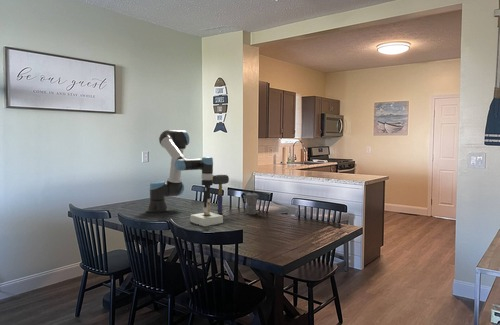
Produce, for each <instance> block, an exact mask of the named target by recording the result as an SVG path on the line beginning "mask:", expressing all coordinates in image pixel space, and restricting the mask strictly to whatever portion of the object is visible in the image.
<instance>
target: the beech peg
mask: <svg viewBox="0 0 500 325" xmlns="http://www.w3.org/2000/svg"><path fill="white" fill-rule="evenodd" d="M210 212H211V201H210V202H208V210H207V212H203V213H204V216H210Z"/></svg>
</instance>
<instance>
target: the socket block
mask: <svg viewBox="0 0 500 325" xmlns="http://www.w3.org/2000/svg"><path fill="white" fill-rule="evenodd" d="M189 219H190V223H193V224H195V225H198V224H199V225H198V226H202V227H208V226H214V225H218V224H223V223H224V215H221V214H220V213H218V214H217V213H213V212H211V211H210V216H204V212H201V213H200V212H199V213H195V214H190V218H189Z"/></svg>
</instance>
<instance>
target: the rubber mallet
mask: <svg viewBox="0 0 500 325" xmlns="http://www.w3.org/2000/svg"><path fill="white" fill-rule="evenodd" d="M212 180H213V185H218V195H217V211H216V212H217V213H218V214H222V213H223V185H226V184H228V183H229V182H230V178H229V175H228V174H217V175H216V174H215V175H214V176H213V179H212Z"/></svg>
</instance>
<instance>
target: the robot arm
mask: <svg viewBox="0 0 500 325" xmlns="http://www.w3.org/2000/svg"><path fill="white" fill-rule="evenodd" d="M158 141H159V145H160V146H161V147H162V148H163V149H165V150H166V151H167V153H168V154H169V155H170V157H171V158H170V159H171V161H170V169H169V170H170V172H169V178H167V180H166V181H165V180H156V181H152V182H151V183H150V184H149V203H148V206H147V212H148V213H154V214H155V213H156V214H157V213H165V212H166V213H167V212H168V206H167V202H166V198H167V197H168V198H169V197H180V196H181V195H183V193H184V190H185V184H184V182H183V181H182V179H181V177H182V176H181V175H182V171H200V170H201V185H202V186H204V187H203V196H202V197H203V198H202V199H203V200H202V201H201V202H202V203H203V204H202V206H203V207H202V208H203V209H202V210H203V212H202V213H204V212H207V210H208V202H210V203H211V200H212V196H211V186H213V185H214V184H213V180H212V179H213V176H215V175H214V158H213V157H212V156H203V157H201V158H193V159H191V158H189V159H188V158H186V157H185V155H184V150H186V148H187V146H189V144H190V135H189V133H188V131H186V130H182V129H179V130H177V129H167V130H164V131H162V132H161V133H160V135H159V138H158Z"/></svg>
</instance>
